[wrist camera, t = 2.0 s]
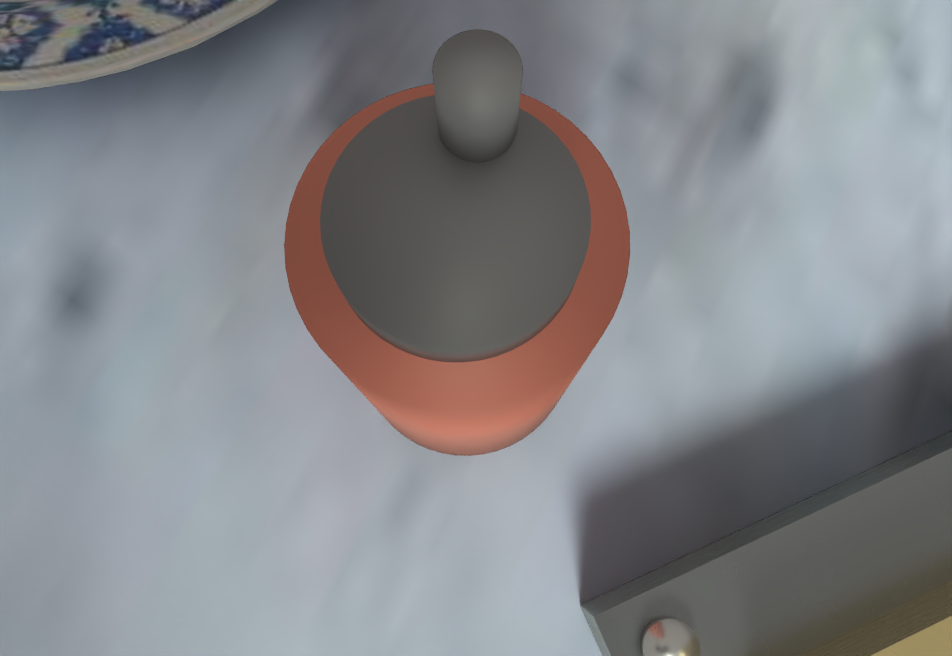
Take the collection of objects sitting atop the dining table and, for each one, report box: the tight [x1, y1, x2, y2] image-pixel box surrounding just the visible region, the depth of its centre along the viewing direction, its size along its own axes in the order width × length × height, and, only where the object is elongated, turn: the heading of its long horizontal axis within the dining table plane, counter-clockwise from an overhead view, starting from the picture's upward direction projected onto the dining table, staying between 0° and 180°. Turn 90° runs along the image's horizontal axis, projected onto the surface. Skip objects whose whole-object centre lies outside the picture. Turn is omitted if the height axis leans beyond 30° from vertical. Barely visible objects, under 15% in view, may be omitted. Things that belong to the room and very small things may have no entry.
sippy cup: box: [284, 30, 630, 456], centre depth 16 cm, size 6×6×12 cm
